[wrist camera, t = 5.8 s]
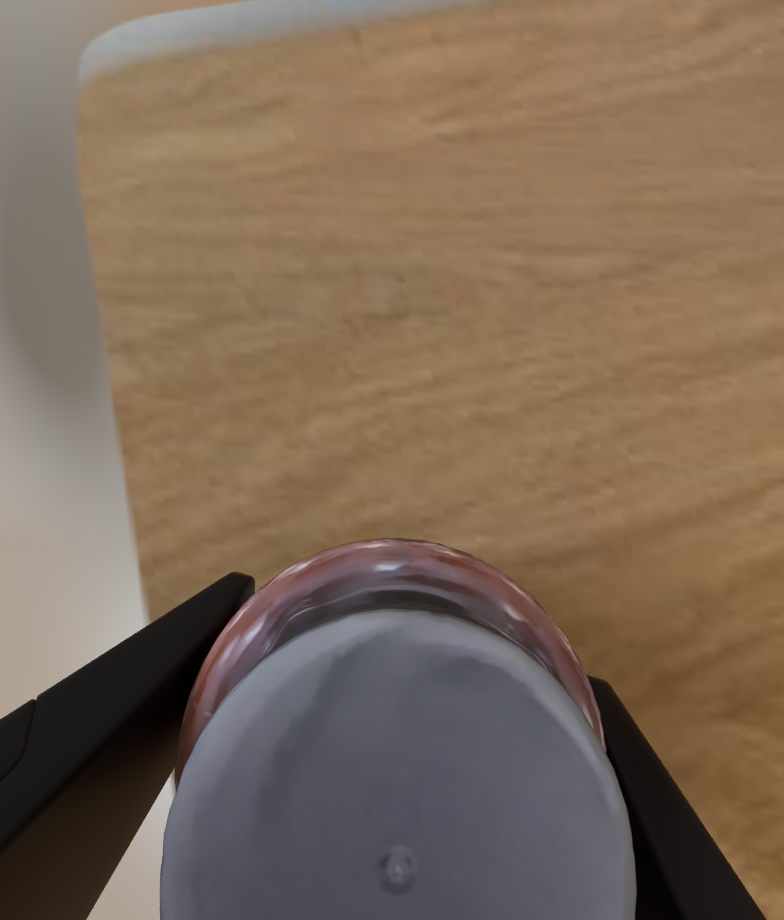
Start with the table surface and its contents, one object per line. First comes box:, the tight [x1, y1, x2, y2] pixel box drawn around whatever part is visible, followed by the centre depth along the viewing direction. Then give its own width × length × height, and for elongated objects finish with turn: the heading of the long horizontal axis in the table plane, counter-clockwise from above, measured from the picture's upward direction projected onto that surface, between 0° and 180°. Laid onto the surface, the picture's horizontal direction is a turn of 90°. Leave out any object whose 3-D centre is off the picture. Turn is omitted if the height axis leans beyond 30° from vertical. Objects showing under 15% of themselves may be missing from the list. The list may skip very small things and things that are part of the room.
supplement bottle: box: [160, 538, 637, 920], centre depth 9 cm, size 6×6×11 cm
